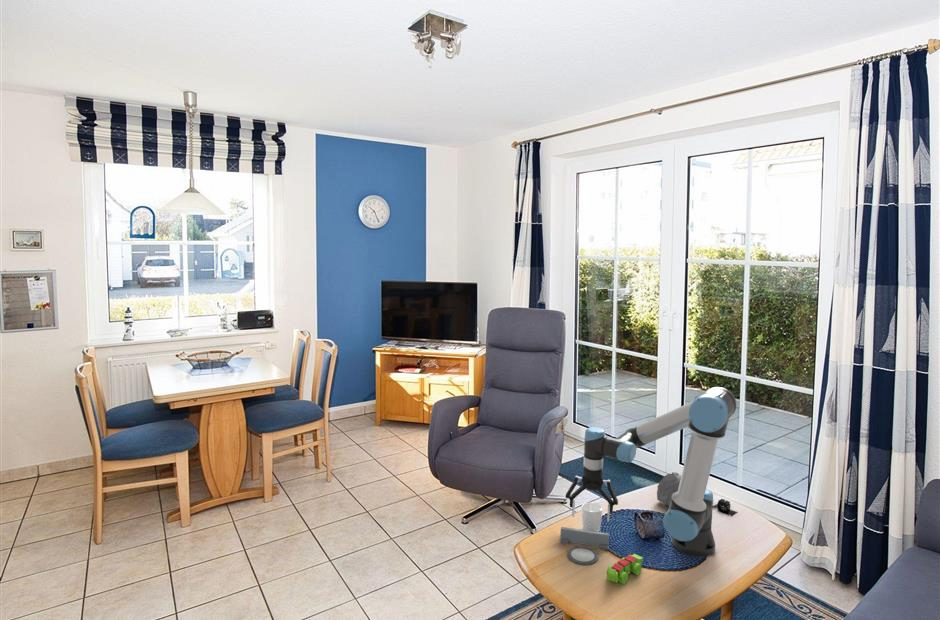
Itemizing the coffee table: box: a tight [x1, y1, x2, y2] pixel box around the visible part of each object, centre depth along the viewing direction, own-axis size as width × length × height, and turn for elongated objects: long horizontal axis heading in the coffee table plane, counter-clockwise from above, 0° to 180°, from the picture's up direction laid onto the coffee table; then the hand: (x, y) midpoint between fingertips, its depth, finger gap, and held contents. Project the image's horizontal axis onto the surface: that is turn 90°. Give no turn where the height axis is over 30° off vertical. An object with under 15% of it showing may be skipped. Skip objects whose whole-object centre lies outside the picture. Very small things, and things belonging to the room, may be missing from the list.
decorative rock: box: [656, 471, 682, 507], centre depth 243 cm, size 16×7×15 cm, turn 37°
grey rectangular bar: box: [559, 526, 610, 551], centre depth 215 cm, size 18×5×5 cm, turn 75°
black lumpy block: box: [712, 498, 739, 517], centre depth 240 cm, size 12×7×5 cm, turn 38°
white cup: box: [581, 502, 603, 532], centre depth 223 cm, size 8×8×10 cm
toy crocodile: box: [606, 553, 644, 585], centre depth 195 cm, size 20×7×6 cm, turn 131°
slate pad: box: [567, 546, 599, 566], centre depth 206 cm, size 11×11×1 cm
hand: (590, 517), depth 224 cm, fingers open, 13 cm apart
